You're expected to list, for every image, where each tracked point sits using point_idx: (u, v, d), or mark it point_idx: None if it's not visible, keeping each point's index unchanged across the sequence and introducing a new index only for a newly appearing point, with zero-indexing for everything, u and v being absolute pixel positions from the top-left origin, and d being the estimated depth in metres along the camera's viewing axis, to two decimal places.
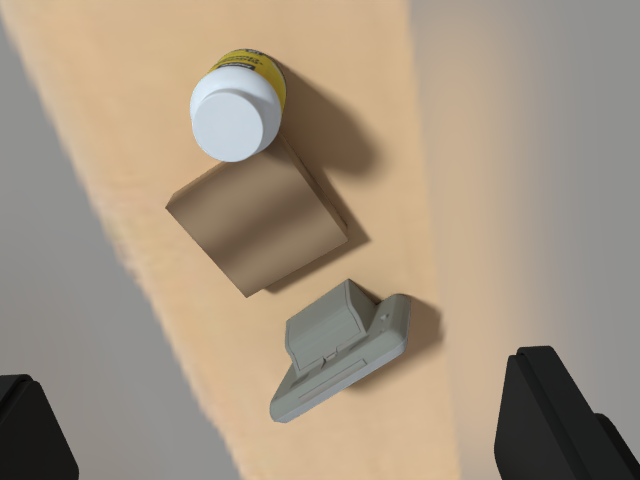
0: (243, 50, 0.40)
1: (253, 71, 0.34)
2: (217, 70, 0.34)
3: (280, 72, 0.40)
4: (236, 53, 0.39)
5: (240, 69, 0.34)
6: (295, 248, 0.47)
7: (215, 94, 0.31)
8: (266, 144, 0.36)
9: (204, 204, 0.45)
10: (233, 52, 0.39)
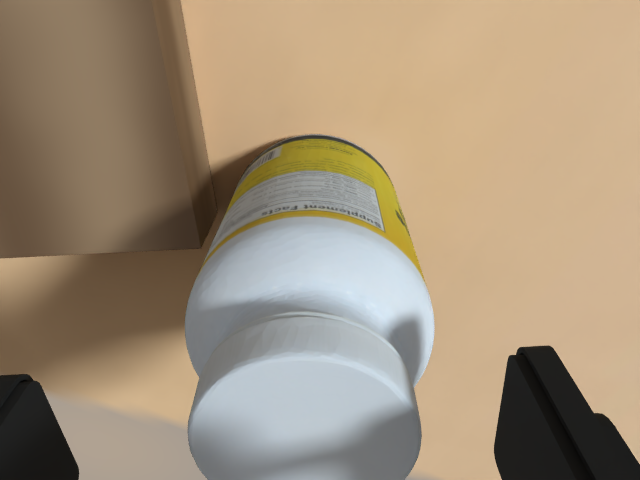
0: None
1: None
2: None
3: None
4: None
5: None
6: None
7: (413, 463, 0.10)
8: (198, 375, 0.13)
9: None
10: None
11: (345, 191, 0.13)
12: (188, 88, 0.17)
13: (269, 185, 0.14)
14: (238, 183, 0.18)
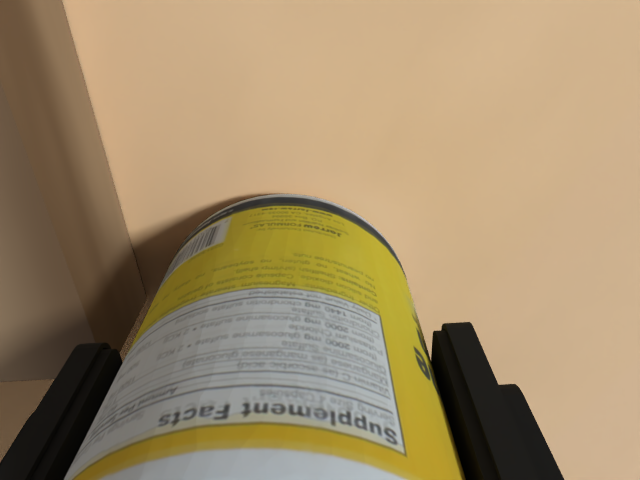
0: None
1: None
2: None
3: None
4: None
5: None
6: None
7: None
8: None
9: None
10: None
11: (326, 344, 0.07)
12: (80, 130, 0.11)
13: (192, 322, 0.08)
14: (167, 270, 0.12)
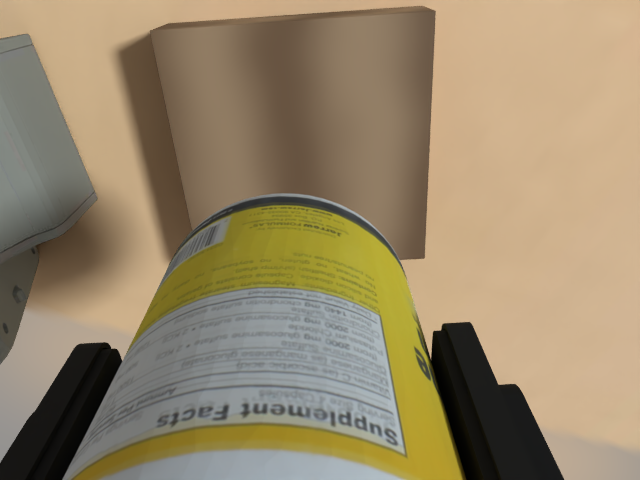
0: None
1: None
2: None
3: None
4: None
5: None
6: (224, 189, 0.24)
7: None
8: None
9: (393, 91, 0.22)
10: None
11: (326, 343, 0.07)
12: None
13: (192, 322, 0.08)
14: None
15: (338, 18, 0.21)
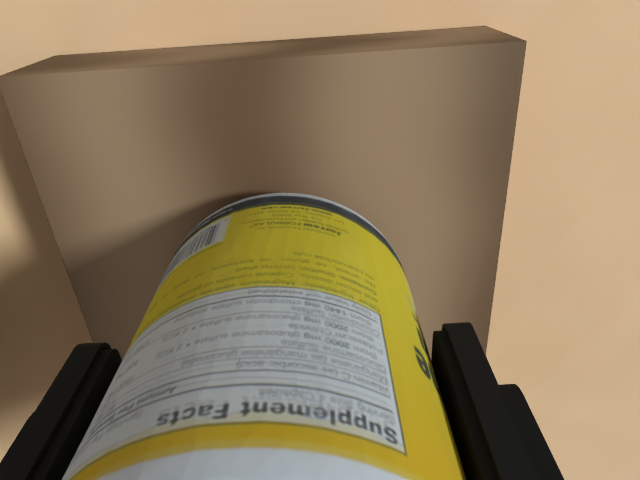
0: None
1: None
2: None
3: None
4: None
5: None
6: None
7: None
8: None
9: (442, 177, 0.13)
10: None
11: (326, 343, 0.07)
12: None
13: (192, 321, 0.08)
14: None
15: (345, 54, 0.11)
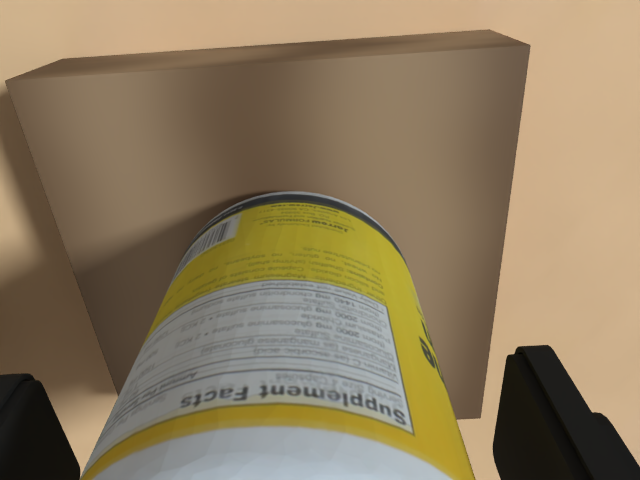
0: None
1: None
2: None
3: None
4: None
5: None
6: None
7: None
8: None
9: (446, 180, 0.13)
10: None
11: (337, 332, 0.08)
12: None
13: (208, 312, 0.08)
14: None
15: (351, 58, 0.11)
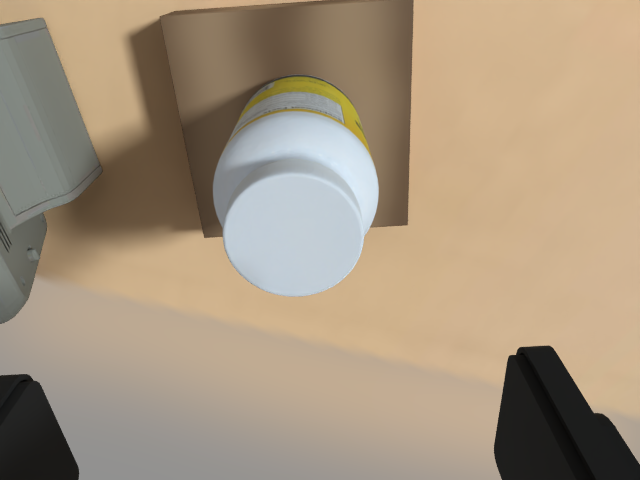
0: None
1: None
2: None
3: None
4: None
5: None
6: None
7: (359, 252, 0.17)
8: (222, 223, 0.19)
9: (377, 70, 0.25)
10: None
11: (318, 102, 0.20)
12: None
13: (267, 100, 0.20)
14: None
15: (327, 5, 0.23)
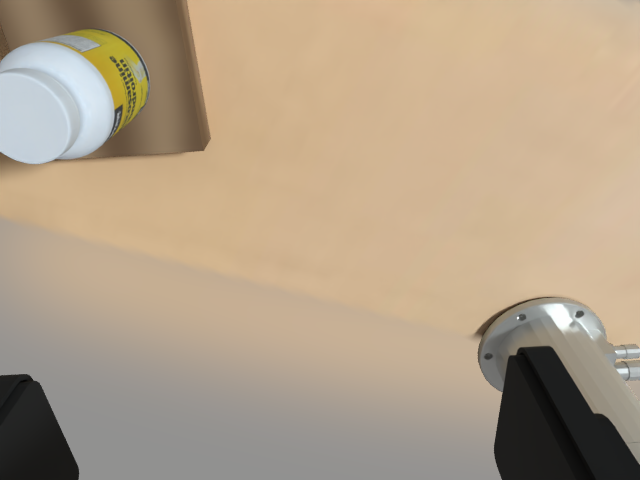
0: (144, 103, 0.35)
1: (97, 148, 0.30)
2: (110, 116, 0.28)
3: None
4: (140, 102, 0.33)
5: (102, 140, 0.29)
6: None
7: (69, 131, 0.25)
8: None
9: (155, 26, 0.34)
10: (145, 93, 0.34)
11: (74, 40, 0.28)
12: (196, 76, 0.37)
13: None
14: None
15: None
